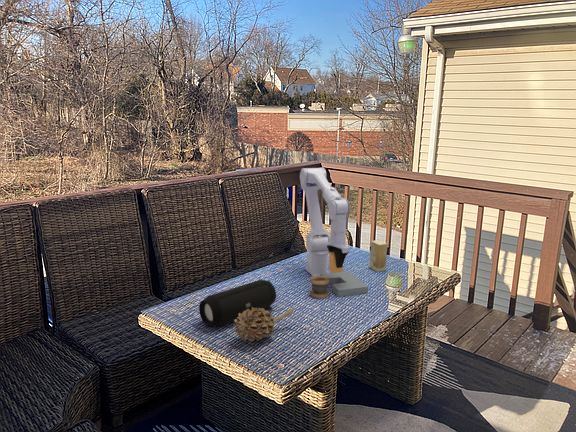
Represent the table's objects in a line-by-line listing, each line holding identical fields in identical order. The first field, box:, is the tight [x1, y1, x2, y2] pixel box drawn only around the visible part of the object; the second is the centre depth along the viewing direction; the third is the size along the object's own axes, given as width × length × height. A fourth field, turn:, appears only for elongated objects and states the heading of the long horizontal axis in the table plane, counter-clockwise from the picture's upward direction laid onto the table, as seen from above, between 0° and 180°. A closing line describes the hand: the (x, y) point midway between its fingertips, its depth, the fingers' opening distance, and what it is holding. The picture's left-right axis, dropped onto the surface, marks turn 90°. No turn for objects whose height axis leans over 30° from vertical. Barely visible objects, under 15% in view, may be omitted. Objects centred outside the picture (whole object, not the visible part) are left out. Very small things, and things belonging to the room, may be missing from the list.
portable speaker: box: [198, 279, 277, 327], centre depth 150 cm, size 26×10×10 cm, turn 133°
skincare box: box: [369, 239, 389, 273], centre depth 195 cm, size 6×4×12 cm
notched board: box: [320, 270, 369, 297], centre depth 177 cm, size 18×12×2 cm, turn 18°
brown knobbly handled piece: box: [233, 307, 295, 342], centre depth 138 cm, size 22×10×10 cm, turn 134°
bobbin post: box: [309, 276, 330, 299], centre depth 169 cm, size 7×7×6 cm
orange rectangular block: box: [328, 252, 344, 273], centre depth 174 cm, size 4×4×7 cm
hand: (336, 265), depth 175 cm, fingers closed on orange rectangular block, 4 cm apart
